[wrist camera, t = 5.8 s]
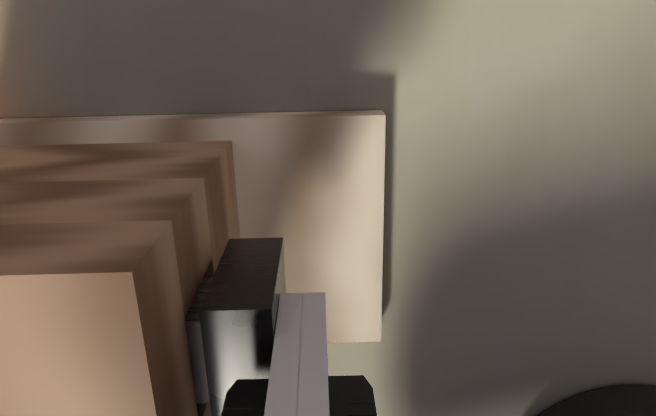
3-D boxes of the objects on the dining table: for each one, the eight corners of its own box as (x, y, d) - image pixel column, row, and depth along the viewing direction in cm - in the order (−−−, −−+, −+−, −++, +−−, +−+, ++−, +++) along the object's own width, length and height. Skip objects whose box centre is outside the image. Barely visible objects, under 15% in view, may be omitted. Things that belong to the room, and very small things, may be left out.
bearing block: (381, 110, 24) (468, 219, 10) (377, 325, 28) (436, 609, 14) (-41, 119, 24) (-533, 244, 10) (18, 335, 28) (-273, 635, 14)
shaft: (283, 237, 18) (271, 309, 14) (289, 351, 20) (280, 450, 15) (-143, 248, 18) (-303, 325, 13) (-100, 362, 20) (-229, 466, 15)
